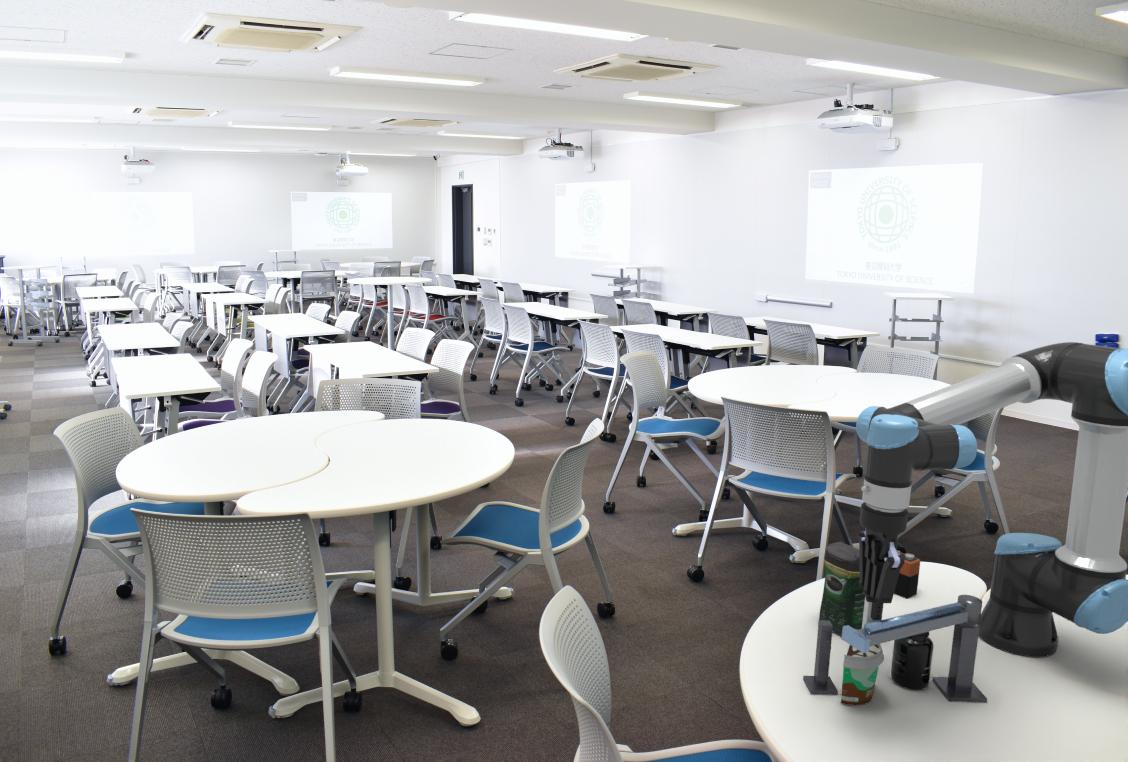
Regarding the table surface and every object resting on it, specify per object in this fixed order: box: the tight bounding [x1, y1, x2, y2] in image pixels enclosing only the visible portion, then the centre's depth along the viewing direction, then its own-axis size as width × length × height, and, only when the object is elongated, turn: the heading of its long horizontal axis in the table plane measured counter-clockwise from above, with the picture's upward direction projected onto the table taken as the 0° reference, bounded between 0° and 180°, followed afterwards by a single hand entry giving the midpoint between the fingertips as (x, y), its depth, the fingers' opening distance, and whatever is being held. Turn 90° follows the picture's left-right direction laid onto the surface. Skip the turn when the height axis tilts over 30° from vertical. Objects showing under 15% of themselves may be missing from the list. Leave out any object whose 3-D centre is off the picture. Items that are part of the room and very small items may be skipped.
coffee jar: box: [818, 541, 866, 636], centre depth 170 cm, size 10×8×19 cm
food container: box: [840, 629, 885, 706], centre depth 145 cm, size 12×6×10 cm, turn 153°
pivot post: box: [931, 623, 988, 704], centre depth 147 cm, size 7×7×14 cm
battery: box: [894, 550, 921, 599], centre depth 190 cm, size 4×7×10 cm, turn 36°
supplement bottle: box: [890, 631, 934, 691], centre depth 150 cm, size 7×7×12 cm
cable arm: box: [841, 594, 983, 653], centre depth 140 cm, size 30×5×4 cm, turn 114°
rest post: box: [802, 619, 839, 696], centre depth 147 cm, size 5×5×13 cm
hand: (870, 632), depth 139 cm, fingers closed
